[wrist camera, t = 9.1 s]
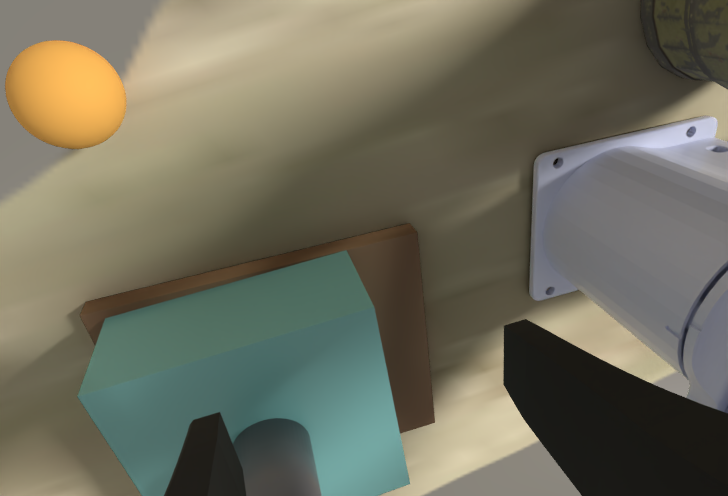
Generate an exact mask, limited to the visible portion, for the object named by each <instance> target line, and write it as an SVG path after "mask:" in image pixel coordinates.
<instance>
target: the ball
mask: <svg viewBox="0 0 728 496" xmlns="http://www.w3.org/2000/svg"><path fill="white" fill-rule="evenodd" d="M5 90H6V97H7V101H8V104H9V107H10V109H11V111H12V112H13V114H14V116H15V118H16V119H17V120H18V122H19V123H20V124H21V125H22V126H23V127H24V128H25V129H26V130H27V131H28V132H29V133H31V134H32V135H34V136H35V137H37V138H38V139H40V140H42V141H44V142H46V143H48V144H51V145H54V146H57V147H62V148H69V149H82V148H88V147H92V146H95V145H98V144H100V143H102V142H104V141H106V140H107V139H108V138H110V137H111V136H112V135H113V134H114V133H115V132H116V131H117V130H118V128H119V127H120V125H121V123H122V121H123V119H124V115H125V112H126V95H125V90H124V87H123V84H122V82H121V79H120V77H119V76H118V74H117V72H116V71H115V70H114V68H113V67H112V66H111V65H110V64H109V63H108V62H107V61H106V60H105V59H104V58H103V57H102V56H100V55H99V54H97V53H96V52H94V51H93V50H91V49H89V48H87V47H85V46H82V45H80V44H76V43H73V42H68V41H56V40H55V41H45V42H41V43H37V44H35V45H32V46H30V47H29V48H27V49H25V50H23V51H22V52H21V53H20V54H19V55H18V56H17V57H16V58H15V59H14V61H13V62H12V64H11V66H10V67H9V70H8V72H7V76H6V82H5Z"/></svg>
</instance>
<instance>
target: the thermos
mask: <svg viewBox="0 0 728 496" xmlns="http://www.w3.org/2000/svg"><path fill="white" fill-rule="evenodd" d="M641 21H642V25H643V29H644V33H645V38H646V42H647V46H648V48H649V49H650V50H651V52H652V53H653V55H654V56H655V58H656V59H657V61H658V62H659V64H660V65H661V66H662V67H663V68H665V69H667V70H668V71H670V72H672V73H674V74H676V75H677V76H679V77H681V78H686V79H691V80H707V81H713V82H716V83H718V84H719V85H721V86H723V87H724V88H726V89H728V0H641Z"/></svg>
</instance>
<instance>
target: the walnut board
mask: <svg viewBox="0 0 728 496" xmlns="http://www.w3.org/2000/svg"><path fill="white" fill-rule="evenodd" d="M345 250H347V252H348V254H349V256H350V258H351V260H352V262H353V265H354V267H355V269H356V271H357V273H358V275H359V277H360V279H361V281H362V283H363V285H364V287H365V289H366V291H367V293H368V295H369V297H370V299H371V301H372V303H373V305H374V308H375V313H376V318H377V323H378V328H379V333H380V338H381V343H382V348H383V353H384V358H385V363H386V367H387V372H388V377H389V382H390V387H391V392H392V397H393V402H394V407H395V412H396V417H397V422H398V427H399V432H400V433H403V432H406V431H409V430H413V429H416V428H419V427H422V426H425V425H429V424H432V423H435V418H434V408H433V397H432V386H431V375H430V364H429V353H428V343H427V332H426V321H425V310H424V299H423V288H422V278H421V267H420V256H419V245H418V234H417V231H416V230H415V229H414V228H413V227H412V225H411V224H410V223H408V224H404V225H400V226H396V227H392V228H388V229H384V230H380V231H375V232H371V233H367V234H363V235H359V236H355V237H351V238H347V239H343V240H338V241H334V242H330V243H326V244H322V245H318V246H314V247H310V248H305V249H301V250H297V251H293V252H289V253H285V254H281V255H277V256H273V257H268V258H264V259H260V260H256V261H252V262H248V263H244V264H240V265H236V266H231V267H227V268H223V269H219V270H215V271H211V272H207V273H203V274H199V275H194V276H190V277H186V278H182V279H178V280H174V281H170V282H166V283H161V284H157V285H153V286H149V287H145V288H141V289H137V290H133V291H129V292H124V293H120V294H116V295H112V296H108V297H104V298H100V299H96V300H92V301H87V302H85V305H84V307H83V309H82V312H81V314H80V317H81V319H82V321H83V323H84V325H85V327H86V329H87V331H88V333H89V334H90V336H91V338H92V340H93V342H94V344H95V346H96V343H97V340H98V337H99V334H100V331H101V329H102V326H103V323H104V320H105V318H108V317H112V316H115V315H119V314H122V313H126V312H129V311H133V310H136V309H140V308H144V307H147V306H151V305H154V304H158V303H161V302H165V301H168V300H172V299H175V298H179V297H182V296H186V295H189V294H193V293H197V292H200V291H204V290H207V289H211V288H214V287H218V286H221V285H225V284H228V283H232V282H235V281H239V280H242V279H246V278H249V277H253V276H257V275H260V274H264V273H267V272H271V271H274V270H278V269H281V268H285V267H288V266H292V265H295V264H299V263H302V262H306V261H309V260H313V259H317V258H320V257H324V256H327V255H331V254H334V253H338V252H341V251H345Z"/></svg>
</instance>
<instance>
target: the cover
mask: <svg viewBox="0 0 728 496" xmlns="http://www.w3.org/2000/svg"><path fill="white" fill-rule="evenodd" d="M77 397H78V399H79V400H80V402H81V403H82V405H83V406H84V408H85V409H86V411H87V412H88V414H89V415H90V417H91V418H92V420H93V421H94V423H95V425H96V426H97V428H98V429H99V431H100V432H101V434H102V435H103V437H104V438H105V440H106V441H107V443H108V444H109V446H110V448H111V449H112V451H113V452H114V454H115V455H116V457H117V458H118V460H119V461H120V463H121V464H122V466H123V467H124V469H125V470H126V472H127V474H128V475H129V477H130V478H131V480H132V481H133V483H134V484H135V486H136V487H137V489H138V490H139V492H140V493H141V495H142V496H164V494H165V492H166V489H167V487H168V484H169V482H170V480H171V477H172V474H173V472H174V469H175V466H176V464H177V461H178V458H179V455H180V453H181V450H182V447H183V444H184V441H185V438H186V435H187V432H188V428H189V425H190V424H191V422H192V421H193V420H195V419H198V418H201V417H204V416H208V415H211V414H214V413H218V412H220V413H221V416H222V418H223V421H224V423H225V426H226V428H227V431H228V433H229V436H230V438H231V441H232V443H233V446H234V448H235V451H236V453H237V456H238V458H239V461H240V463H241V466H242V469H243V475H244V482H245V489H246V496H378V495H381V494H383V493H386V492H389V491H392V490H395V489H397V488H400V487H403V486H406V485H408V484H410V481H409V476H408V471H407V466H406V461H405V456H404V451H403V446H402V441H401V436H400V432H399V427H398V422H397V417H396V412H395V407H394V402H393V397H392V392H391V387H390V382H389V377H388V372H387V367H386V363H385V358H384V353H383V348H382V343H381V338H380V333H379V328H378V323H377V318H376V313H375V308H374V305H373V303H372V301H371V299H370V297H369V295H368V293H367V291H366V289H365V287H364V285H363V283H362V281H361V279H360V277H359V275H358V273H357V271H356V269H355V267H354V265H353V262H352V260H351V258H350V256H349V254H348V252H347V250H345V251H341V252H338V253H334V254H331V255H327V256H324V257H320V258H317V259H313V260H309V261H306V262H302V263H299V264H295V265H292V266H288V267H285V268H281V269H278V270H274V271H271V272H267V273H264V274H260V275H257V276H253V277H249V278H246V279H242V280H239V281H235V282H232V283H228V284H225V285H221V286H218V287H214V288H211V289H207V290H204V291H200V292H197V293H193V294H189V295H186V296H182V297H179V298H175V299H172V300H168V301H165V302H161V303H158V304H154V305H151V306H147V307H144V308H140V309H136V310H133V311H129V312H126V313H122V314H119V315H115V316H112V317H108V318H105V320H104V323H103V326H102V329H101V331H100V334H99V337H98V340H97V343H96V346H95V348H94V351H93V354H92V357H91V360H90V362H89V365H88V368H87V371H86V374H85V377H84V379H83V382H82V385H81V388H80V391H79V393H78V396H77Z"/></svg>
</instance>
